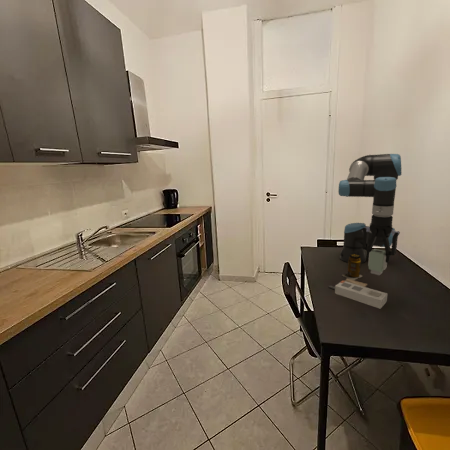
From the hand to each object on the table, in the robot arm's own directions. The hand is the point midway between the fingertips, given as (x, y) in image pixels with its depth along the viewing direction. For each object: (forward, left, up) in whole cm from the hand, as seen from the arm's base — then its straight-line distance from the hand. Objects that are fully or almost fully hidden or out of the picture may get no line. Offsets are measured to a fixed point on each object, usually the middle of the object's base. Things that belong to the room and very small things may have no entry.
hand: (377, 267), depth 114 cm
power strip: (0, -8, -17) cm, 19 cm away
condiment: (-21, -18, -17) cm, 32 cm away
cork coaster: (-10, -13, -17) cm, 23 cm away
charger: (0, 0, -3) cm, 3 cm away
